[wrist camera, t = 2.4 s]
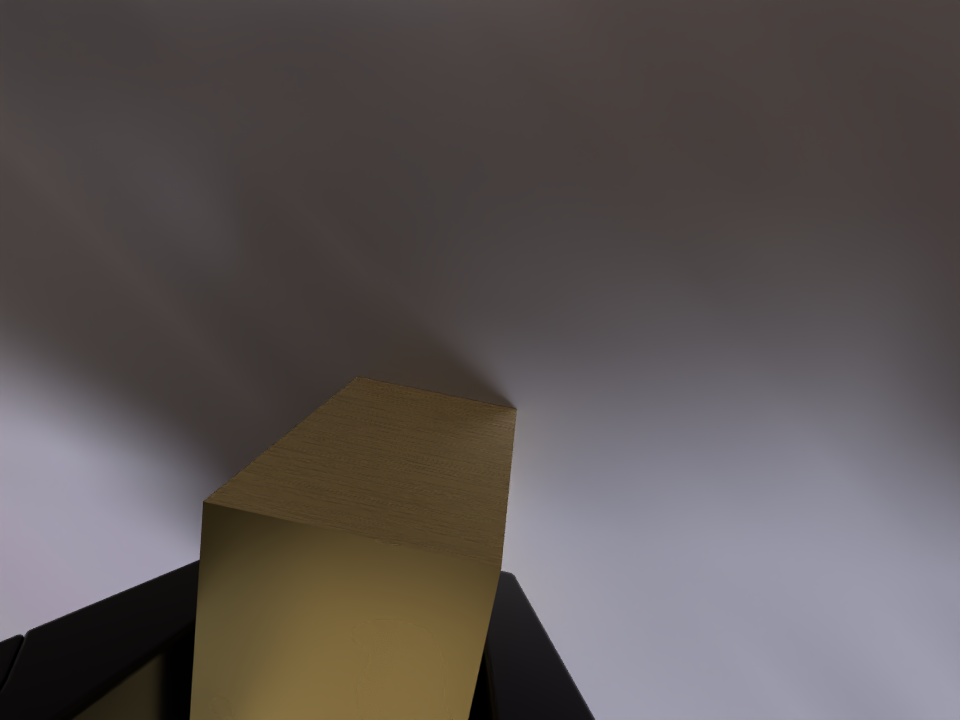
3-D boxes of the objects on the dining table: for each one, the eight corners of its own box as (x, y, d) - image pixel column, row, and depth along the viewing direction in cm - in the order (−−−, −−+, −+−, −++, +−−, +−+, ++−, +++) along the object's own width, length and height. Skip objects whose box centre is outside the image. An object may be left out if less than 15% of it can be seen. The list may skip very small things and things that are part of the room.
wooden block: (516, 409, 8) (501, 566, 4) (460, 677, 9) (408, 988, 6) (357, 376, 8) (202, 502, 4) (322, 644, 10) (177, 926, 6)
